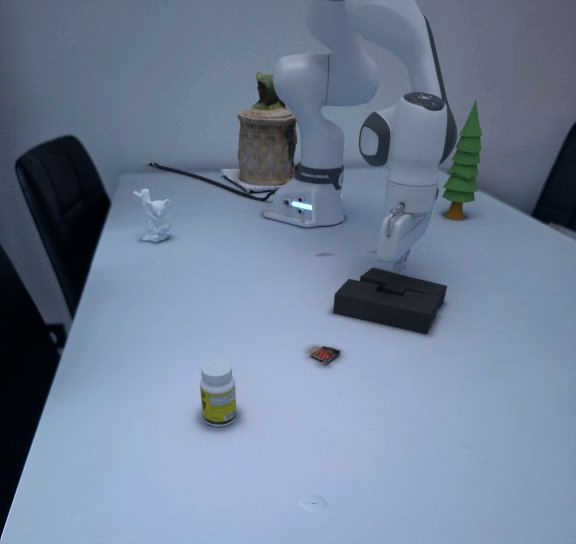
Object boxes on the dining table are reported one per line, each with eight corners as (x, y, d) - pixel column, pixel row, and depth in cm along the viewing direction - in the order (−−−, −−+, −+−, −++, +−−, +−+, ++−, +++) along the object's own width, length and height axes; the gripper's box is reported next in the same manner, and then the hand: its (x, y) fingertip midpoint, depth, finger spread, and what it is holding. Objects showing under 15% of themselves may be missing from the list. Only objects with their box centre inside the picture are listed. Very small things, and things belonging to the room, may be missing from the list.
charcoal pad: (333, 313, 101) (334, 293, 99) (347, 296, 107) (348, 278, 105) (426, 334, 95) (430, 314, 93) (435, 315, 101) (439, 296, 99)
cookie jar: (248, 194, 166) (246, 76, 147) (219, 176, 183) (214, 68, 165) (317, 186, 175) (323, 75, 157) (283, 169, 193) (285, 67, 175)
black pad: (352, 298, 107) (354, 280, 105) (370, 285, 113) (372, 267, 111) (428, 320, 100) (432, 300, 98) (443, 304, 106) (447, 285, 104)
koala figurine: (135, 243, 129) (128, 192, 122) (145, 233, 135) (138, 185, 128) (169, 245, 129) (164, 194, 122) (177, 235, 134) (172, 186, 127)
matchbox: (341, 351, 90) (341, 348, 89) (331, 366, 86) (331, 363, 86) (315, 344, 91) (316, 342, 91) (304, 359, 87) (304, 356, 87)
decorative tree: (435, 218, 151) (457, 99, 134) (440, 209, 158) (461, 95, 141) (470, 223, 148) (497, 101, 131) (474, 213, 155) (500, 97, 138)
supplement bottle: (203, 407, 76) (199, 357, 72) (236, 406, 77) (234, 357, 72) (202, 428, 73) (197, 377, 68) (236, 427, 73) (234, 376, 68)
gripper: (409, 215, 86) (397, 293, 94) (442, 187, 101) (429, 256, 109) (372, 208, 89) (363, 285, 97) (410, 182, 104) (399, 250, 112)
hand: (398, 269), depth 103 cm, fingers closed
